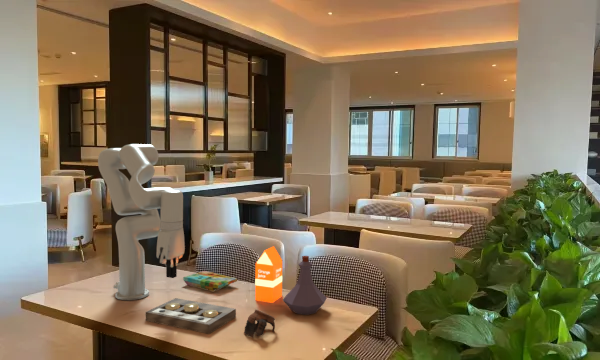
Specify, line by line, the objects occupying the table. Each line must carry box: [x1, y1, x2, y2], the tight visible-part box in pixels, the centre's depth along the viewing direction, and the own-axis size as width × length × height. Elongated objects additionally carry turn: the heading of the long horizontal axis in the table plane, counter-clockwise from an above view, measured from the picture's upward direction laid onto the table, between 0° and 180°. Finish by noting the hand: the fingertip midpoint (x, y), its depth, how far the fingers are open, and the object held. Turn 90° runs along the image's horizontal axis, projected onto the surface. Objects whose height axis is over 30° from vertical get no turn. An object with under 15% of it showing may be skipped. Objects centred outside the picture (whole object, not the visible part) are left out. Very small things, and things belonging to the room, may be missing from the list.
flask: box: [282, 255, 327, 316], centre depth 171 cm, size 16×16×20 cm
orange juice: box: [254, 245, 283, 304], centre depth 184 cm, size 8×9×20 cm
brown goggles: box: [243, 309, 276, 339], centre depth 150 cm, size 12×10×8 cm
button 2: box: [203, 310, 218, 318], centre depth 159 cm, size 5×5×2 cm
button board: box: [145, 297, 237, 335], centre depth 162 cm, size 26×16×3 cm, turn 66°
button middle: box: [184, 303, 199, 315], centre depth 162 cm, size 5×5×2 cm
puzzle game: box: [182, 270, 238, 292], centre depth 199 cm, size 12×5×20 cm
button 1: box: [165, 303, 180, 311], centre depth 165 cm, size 5×5×2 cm
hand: (171, 276), depth 165 cm, fingers closed
